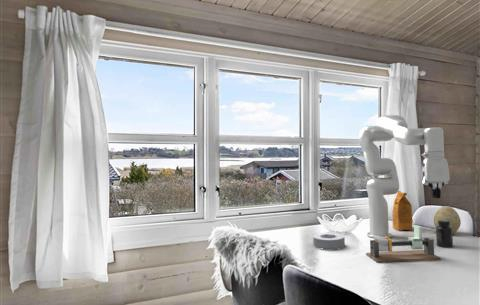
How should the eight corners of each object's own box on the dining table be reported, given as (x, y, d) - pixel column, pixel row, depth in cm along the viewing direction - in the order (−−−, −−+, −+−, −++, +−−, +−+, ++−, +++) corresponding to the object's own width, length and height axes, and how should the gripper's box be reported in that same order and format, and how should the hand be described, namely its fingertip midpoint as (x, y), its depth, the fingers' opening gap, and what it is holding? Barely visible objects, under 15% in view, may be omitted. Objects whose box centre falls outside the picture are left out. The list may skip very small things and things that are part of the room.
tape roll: (339, 251, 171) (339, 240, 171) (308, 248, 179) (308, 237, 179) (348, 244, 184) (348, 234, 184) (319, 241, 192) (319, 231, 192)
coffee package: (408, 227, 219) (407, 190, 219) (414, 231, 207) (413, 192, 207) (390, 227, 221) (389, 190, 221) (395, 231, 208) (394, 192, 209)
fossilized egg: (461, 232, 200) (460, 205, 200) (460, 237, 190) (459, 208, 190) (435, 230, 207) (434, 204, 207) (433, 235, 196) (432, 207, 196)
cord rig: (366, 255, 163) (365, 235, 163) (425, 252, 164) (424, 233, 164) (377, 262, 151) (376, 242, 151) (440, 259, 152) (440, 239, 152)
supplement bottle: (455, 247, 170) (454, 222, 170) (439, 247, 171) (438, 222, 171) (449, 244, 176) (448, 219, 177) (434, 244, 178) (433, 219, 178)
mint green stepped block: (408, 246, 160) (407, 225, 160) (417, 246, 160) (416, 225, 160) (413, 249, 156) (412, 227, 156) (422, 249, 156) (421, 227, 156)
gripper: (422, 156, 155) (423, 199, 155) (456, 155, 155) (458, 198, 155) (412, 156, 162) (414, 197, 162) (446, 155, 163) (447, 196, 163)
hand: (436, 197), depth 159 cm, fingers closed
